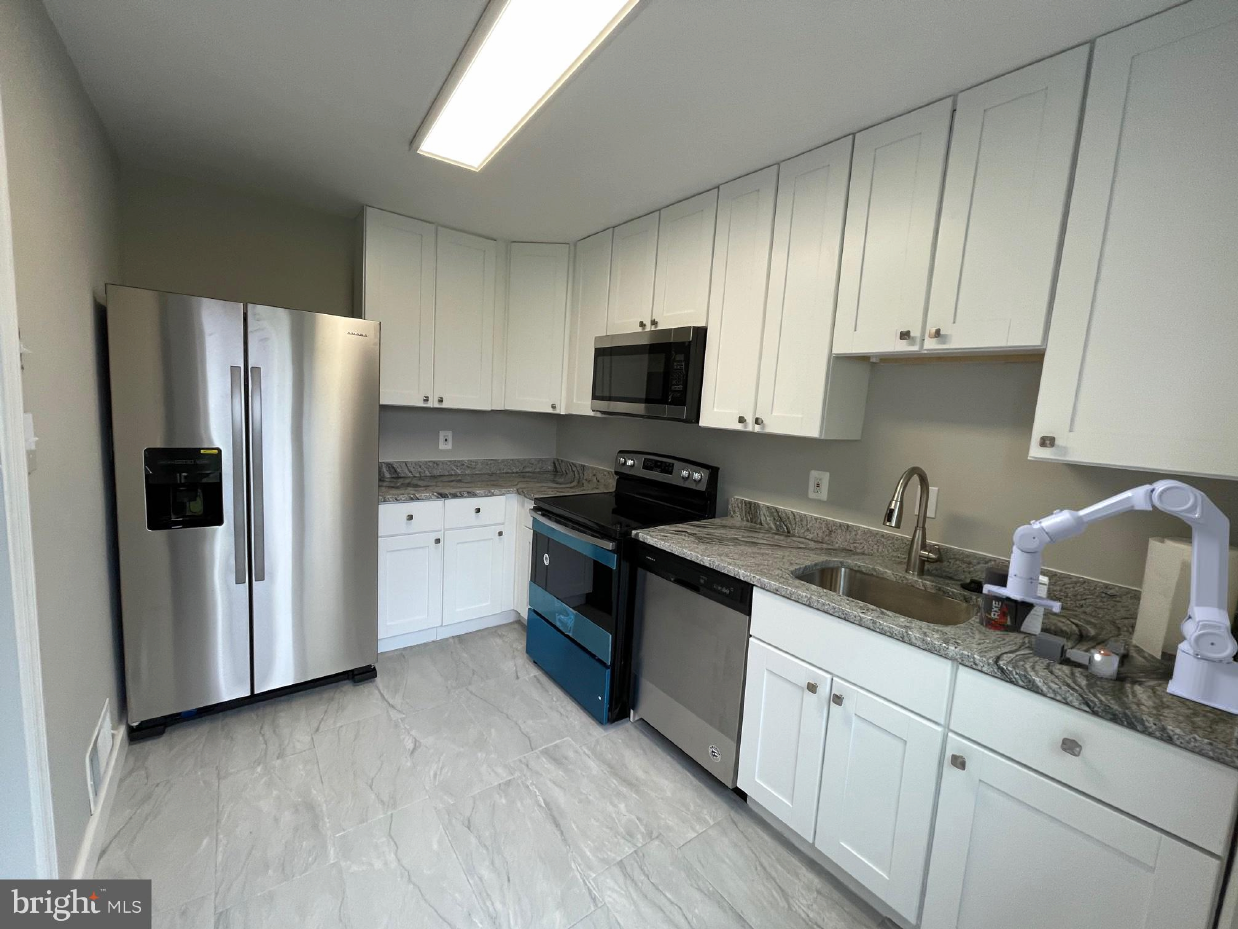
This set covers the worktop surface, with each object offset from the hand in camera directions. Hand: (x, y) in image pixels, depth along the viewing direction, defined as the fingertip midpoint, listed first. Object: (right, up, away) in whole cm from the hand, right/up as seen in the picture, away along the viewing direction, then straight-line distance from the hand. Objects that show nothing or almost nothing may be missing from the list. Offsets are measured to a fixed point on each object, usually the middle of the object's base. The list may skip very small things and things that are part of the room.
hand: (1015, 630), depth 121 cm
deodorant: (+4, -3, +13) cm, 13 cm away
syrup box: (+12, -4, +11) cm, 17 cm away
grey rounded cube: (+4, -5, -5) cm, 8 cm away
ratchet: (+15, -5, -5) cm, 17 cm away
